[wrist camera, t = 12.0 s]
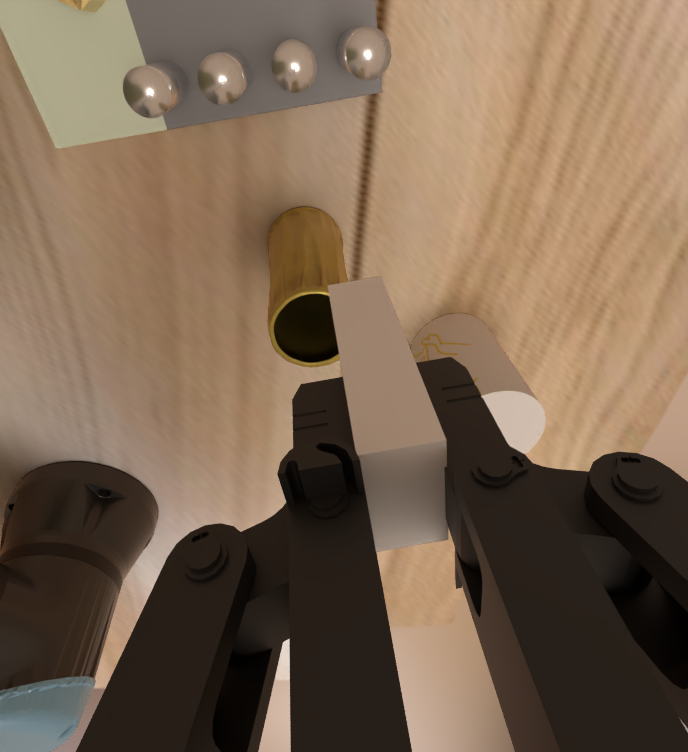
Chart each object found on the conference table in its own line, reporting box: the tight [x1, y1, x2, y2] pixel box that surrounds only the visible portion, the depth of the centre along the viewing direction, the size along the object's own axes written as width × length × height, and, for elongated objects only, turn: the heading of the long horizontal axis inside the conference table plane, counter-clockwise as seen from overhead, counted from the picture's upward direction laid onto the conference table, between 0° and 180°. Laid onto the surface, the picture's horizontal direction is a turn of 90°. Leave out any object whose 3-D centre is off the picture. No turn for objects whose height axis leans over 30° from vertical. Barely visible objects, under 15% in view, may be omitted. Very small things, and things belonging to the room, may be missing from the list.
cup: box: [410, 313, 546, 454], centre depth 42 cm, size 8×8×12 cm
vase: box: [268, 207, 348, 367], centre depth 34 cm, size 6×6×14 cm
